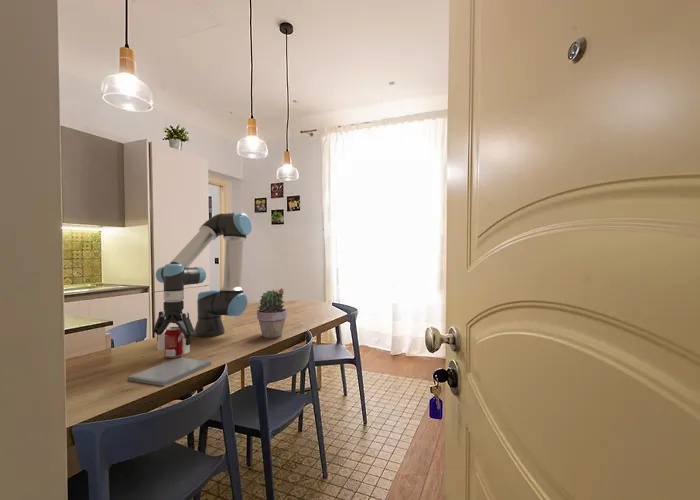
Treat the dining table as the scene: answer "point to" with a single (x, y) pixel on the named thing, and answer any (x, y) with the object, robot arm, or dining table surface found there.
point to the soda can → (173, 342)
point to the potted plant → (271, 314)
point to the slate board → (169, 371)
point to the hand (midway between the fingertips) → (173, 351)
